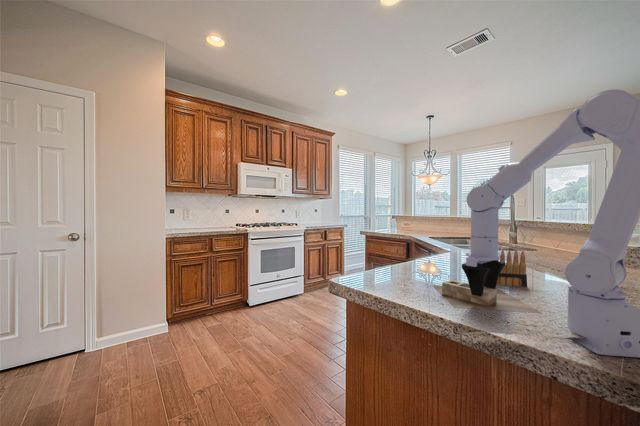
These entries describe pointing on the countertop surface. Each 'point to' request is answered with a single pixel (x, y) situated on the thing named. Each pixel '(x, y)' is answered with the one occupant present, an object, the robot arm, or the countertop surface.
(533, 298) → the countertop surface
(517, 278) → the ammunition clip
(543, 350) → the countertop surface
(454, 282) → the beige rectangular block
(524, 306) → the post board
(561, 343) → the countertop surface
